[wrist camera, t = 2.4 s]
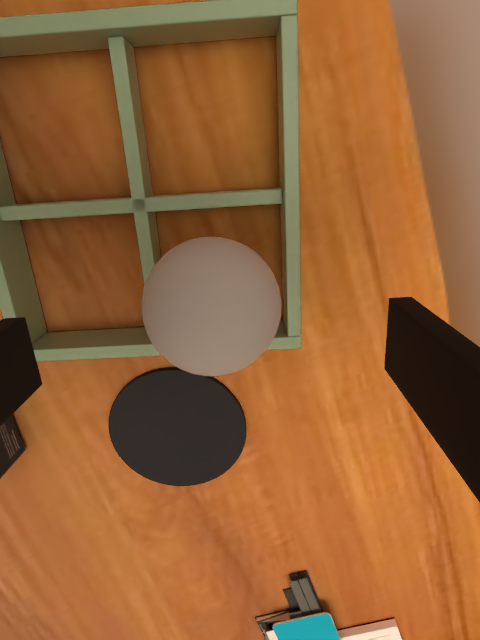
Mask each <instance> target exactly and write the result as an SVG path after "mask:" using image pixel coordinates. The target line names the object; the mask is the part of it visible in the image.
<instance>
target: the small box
mask: <svg viewBox="0 0 480 640" xmlns="http://www.w3.org/2000/svg"><path fill="white" fill-rule="evenodd" d="M24 451H25V448H24V444H23V442H22V440H21V437H20V434H19V432H18V430H17V427H16V424H15V422H14V419H13V416H12V415H11V416H10V417H9V418H8V419H7V420H6V421H5V422H4V423H3V424H2V425H1V426H0V478H1V477H2V476H3V475H4V474H5V473H6V471H7V470H8V469H9V468H10V467H11V466H12V465H13V463H14V462H15V461H16V460H17V459H18V458H19V457H20V456H21V455H22V453H23V452H24Z"/></svg>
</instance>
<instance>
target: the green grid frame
mask: <svg viewBox="0 0 480 640" xmlns="http://www.w3.org/2000/svg"><path fill="white" fill-rule="evenodd" d="M297 14H298V0H207V1H195V2H183V3H170V4H158V5H145V6H133V7H120V8H108V9H95V10H83V11H71V12H58V13H46V14H33V15H21V16H8V17H0V57H9V56H22V55H35V54H48V53H61V52H74V51H87V50H100V49H109V52H110V58H111V65H112V72H113V78H114V85H115V92H116V99H117V105H118V112H119V119H120V126H121V132H122V139H123V146H124V152H125V159H126V166H127V173H128V179H129V186H130V193H131V197H120V198H104V199H89V200H73V201H57V202H42V203H26V204H16V202H15V198H14V194H13V190H12V186H11V182H10V177H9V173H8V169H7V165H6V161H5V157H4V153H3V149H2V145H1V141H0V309H1V313H2V316H3V319H4V318H19V317H25V318H26V322H27V326H28V330H29V334H30V338H31V342H32V346H33V350H34V354H35V357H36V361H37V362H40V361H60V360H80V359H100V358H120V357H140V356H160V355H161V354H160V353H159V352H158V351H157V349H156V348H155V347H154V346H153V344H152V342H151V340H150V338H149V336H148V334H147V332H146V329H145V327H138V328H119V329H100V330H81V331H62V332H47V328H46V324H45V320H44V316H43V312H42V308H41V304H40V300H39V296H38V292H37V287H36V283H35V279H34V275H33V271H32V267H31V263H30V259H29V255H28V251H27V247H26V243H25V239H24V234H23V230H22V226H21V222H20V220H31V219H47V218H63V217H79V216H95V215H111V214H127V213H134V220H135V226H136V233H137V240H138V247H139V253H140V260H141V267H142V273H143V280H144V286H145V283H146V280H147V277H148V275H149V274H150V272H151V270H152V269H153V267H154V265H155V264H156V263H157V262H158V261H159V260H160V259H161V252H160V245H159V237H158V229H157V222H156V214H155V212H159V211H175V210H191V209H207V208H223V207H239V206H255V205H271V204H280V213H281V252H282V291H283V320H280V322H279V326H278V329H277V332H276V334H275V336H274V338H273V340H272V342H271V344H270V345H269V347H268V348H267V349H266V350H280V349H300V348H301V281H300V174H299V67H298V15H297ZM269 36H276V56H277V95H278V134H279V174H280V188H279V187H276V188H261V189H245V190H229V191H214V192H198V193H182V194H167V195H153V191H152V183H151V176H150V168H149V160H148V153H147V145H146V137H145V130H144V122H143V114H142V107H141V99H140V91H139V84H138V76H137V68H136V61H135V53H134V48H133V47H139V46H152V45H165V44H178V43H191V42H204V41H217V40H230V39H243V38H256V37H269Z"/></svg>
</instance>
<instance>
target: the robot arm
mask: <svg viewBox="0 0 480 640" xmlns="http://www.w3.org/2000/svg"><path fill="white" fill-rule="evenodd" d="M385 370H386V371H387V373H388V374H389V376H390V377H391V378H392V380H393V381H394V383H395V384H396V385H397V387H398V388H399V390H400V391H401V392H402V394H403V395H404V397H405V398H406V399H407V401H408V402H409V404H410V405H411V406H412V408H413V409H414V411H415V412H416V413H417V415H418V416H419V418H420V419H421V420H422V422H423V423H424V425H425V426H426V428H427V429H428V430H429V432H430V433H431V435H432V436H433V437H434V439H435V440H436V442H437V443H438V444H439V446H440V447H441V449H442V450H443V451H444V453H445V454H446V456H447V457H448V458H449V460H450V461H451V463H452V464H453V465H454V467H455V468H456V470H457V471H458V472H459V474H460V475H461V477H462V478H463V480H464V481H465V482H466V484H467V485H468V487H469V488H470V489H471V491H472V492H473V494H474V495H475V496H476V498H477V499H478V501H479V502H480V347H478V346H477V345H476V344H474V343H473V342H472V341H470V340H469V339H468V338H466V337H465V336H464V335H462V334H461V333H459V332H458V331H457V330H455V329H454V328H453V327H451V326H450V325H449V324H447V323H446V322H445V321H443V320H442V319H441V318H439V317H438V316H436V315H435V314H434V313H432V312H431V311H430V310H428V309H427V308H426V307H424V306H423V305H421V304H420V303H419V302H417V301H416V300H415V299H413V298H412V297H401V298H389V309H388V324H387V339H386V354H385ZM41 385H42V381H41V377H40V373H39V369H38V365H37V361H36V357H35V354H34V350H33V346H32V342H31V338H30V334H29V330H28V326H27V322H26V318H25V317H19V318H4V319H3V320H1V321H0V426H1V425H2V424H3V423H4V422H5V421H6V420H7V419H8V418H9V417H10V416H11V415H12V414H13V413H14V412H15V411H16V410H17V409H18V408H19V407H20V406H21V405H22V404H23V403H24V402H25V401H26V400H27V399H28V398H29V397H30V396H31V395H32V394H33V393H34V392H35V391H36V390H37V389H38V388H39V387H40V386H41Z"/></svg>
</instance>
